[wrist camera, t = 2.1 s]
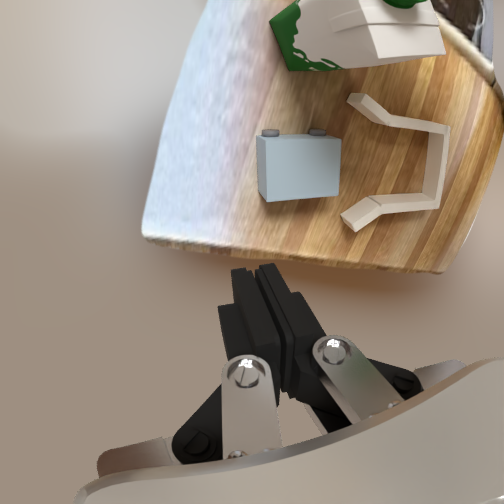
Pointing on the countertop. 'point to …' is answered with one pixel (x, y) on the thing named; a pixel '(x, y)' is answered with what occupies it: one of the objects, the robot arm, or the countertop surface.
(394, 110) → the countertop surface
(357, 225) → the bay
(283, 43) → the milk carton
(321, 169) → the grey boxy piece
